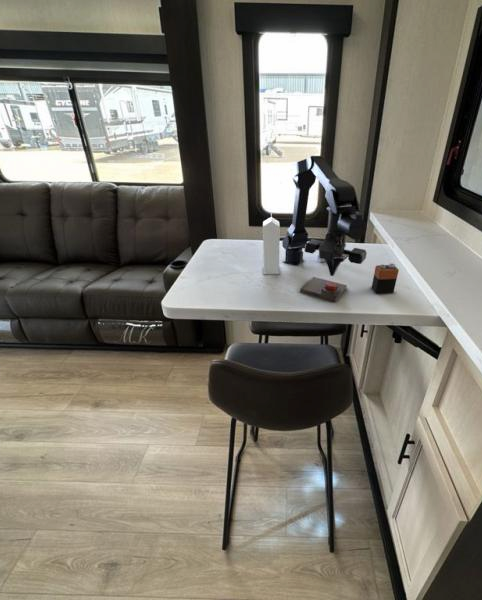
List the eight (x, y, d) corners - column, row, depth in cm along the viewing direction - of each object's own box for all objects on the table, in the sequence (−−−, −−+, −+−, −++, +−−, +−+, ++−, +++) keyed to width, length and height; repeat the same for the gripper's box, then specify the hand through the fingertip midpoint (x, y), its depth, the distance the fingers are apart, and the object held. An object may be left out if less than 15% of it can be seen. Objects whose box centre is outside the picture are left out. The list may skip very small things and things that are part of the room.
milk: (278, 268, 123) (279, 212, 112) (279, 274, 117) (280, 217, 106) (263, 267, 122) (263, 212, 111) (263, 274, 117) (262, 217, 106)
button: (323, 289, 101) (324, 284, 101) (327, 285, 104) (328, 280, 103) (333, 292, 100) (334, 287, 99) (337, 287, 103) (338, 283, 102)
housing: (299, 292, 105) (299, 283, 103) (313, 280, 114) (313, 271, 112) (335, 303, 100) (336, 293, 98) (347, 289, 109) (348, 280, 107)
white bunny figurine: (318, 263, 128) (319, 245, 124) (315, 257, 133) (316, 239, 129) (330, 263, 128) (332, 245, 124) (327, 257, 134) (329, 239, 130)
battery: (394, 293, 107) (400, 267, 102) (375, 294, 106) (381, 267, 101) (388, 287, 111) (394, 261, 106) (370, 288, 110) (375, 262, 105)
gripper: (297, 230, 89) (295, 278, 97) (359, 242, 82) (351, 293, 90) (313, 221, 98) (310, 266, 106) (370, 231, 90) (362, 278, 98)
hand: (332, 275), depth 100 cm, fingers closed
